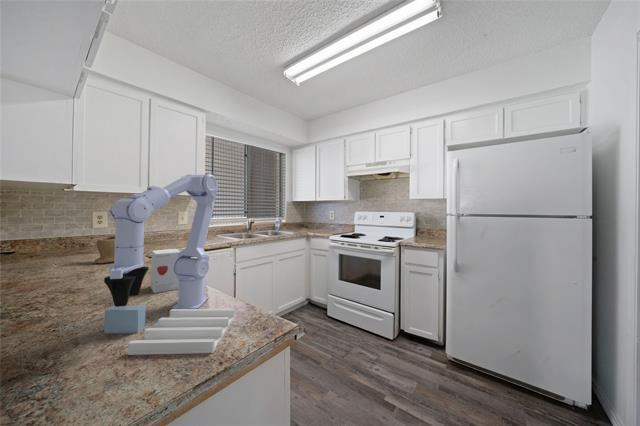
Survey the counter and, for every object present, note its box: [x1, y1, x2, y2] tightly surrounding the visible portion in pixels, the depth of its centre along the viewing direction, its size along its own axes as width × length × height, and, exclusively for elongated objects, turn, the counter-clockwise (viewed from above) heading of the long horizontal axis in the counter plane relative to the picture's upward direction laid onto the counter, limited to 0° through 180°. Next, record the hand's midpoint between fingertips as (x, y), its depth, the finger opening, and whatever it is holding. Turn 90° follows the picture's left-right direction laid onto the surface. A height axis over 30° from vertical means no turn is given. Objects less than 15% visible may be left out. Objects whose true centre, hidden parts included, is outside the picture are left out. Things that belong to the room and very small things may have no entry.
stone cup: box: [93, 235, 115, 264], centre depth 138 cm, size 15×12×15 cm
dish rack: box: [126, 308, 236, 356], centre depth 63 cm, size 18×18×2 cm
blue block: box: [103, 304, 147, 334], centre depth 63 cm, size 3×8×6 cm, turn 95°
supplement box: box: [150, 248, 181, 294], centre depth 96 cm, size 9×9×15 cm
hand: (127, 300), depth 61 cm, fingers open, 7 cm apart
